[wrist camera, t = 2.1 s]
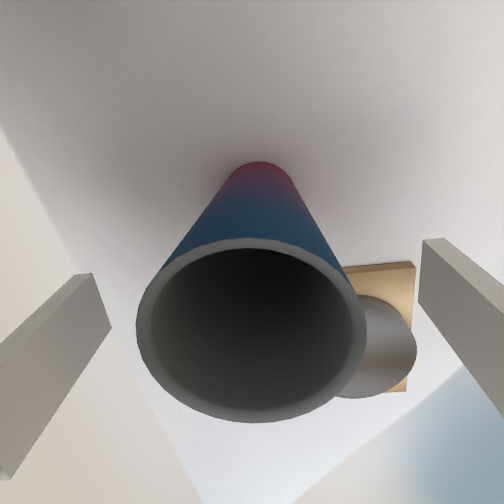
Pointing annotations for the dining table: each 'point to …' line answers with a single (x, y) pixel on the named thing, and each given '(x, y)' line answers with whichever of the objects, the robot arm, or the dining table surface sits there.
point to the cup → (252, 308)
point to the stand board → (388, 289)
